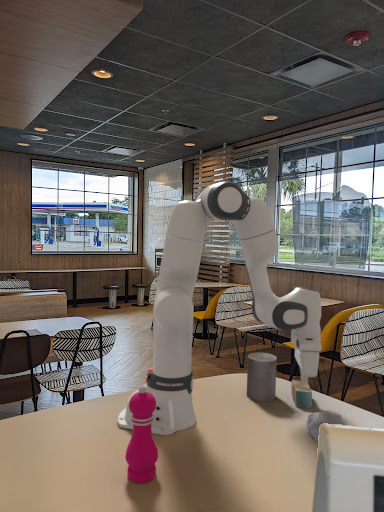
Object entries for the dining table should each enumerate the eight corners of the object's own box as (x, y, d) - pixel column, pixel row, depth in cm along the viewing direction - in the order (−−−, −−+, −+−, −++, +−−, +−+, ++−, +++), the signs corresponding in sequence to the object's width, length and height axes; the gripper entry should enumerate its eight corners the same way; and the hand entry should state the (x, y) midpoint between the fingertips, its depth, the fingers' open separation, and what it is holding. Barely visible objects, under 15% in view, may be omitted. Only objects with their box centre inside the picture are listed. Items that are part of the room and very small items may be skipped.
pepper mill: (129, 488, 81) (130, 394, 80) (121, 469, 88) (122, 382, 87) (162, 480, 84) (163, 389, 83) (152, 462, 91) (153, 378, 90)
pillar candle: (243, 391, 135) (244, 348, 135) (270, 390, 137) (271, 348, 136) (250, 402, 126) (251, 357, 125) (279, 401, 127) (280, 356, 126)
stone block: (311, 448, 102) (351, 444, 100) (308, 430, 102) (347, 426, 100) (306, 428, 114) (341, 425, 112) (303, 412, 114) (338, 408, 112)
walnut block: (295, 391, 123) (291, 380, 133) (295, 406, 123) (291, 394, 133) (312, 392, 123) (306, 380, 133) (311, 407, 123) (306, 395, 133)
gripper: (290, 330, 132) (289, 370, 133) (300, 346, 112) (299, 393, 113) (309, 331, 132) (308, 371, 132) (322, 347, 111) (321, 394, 112)
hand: (304, 381), depth 122 cm, fingers closed
